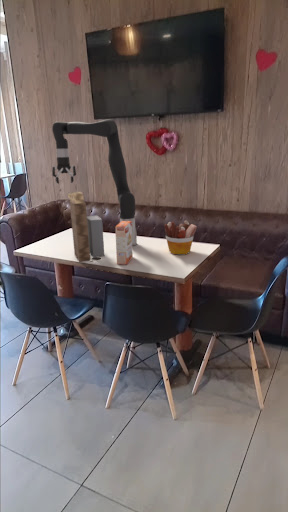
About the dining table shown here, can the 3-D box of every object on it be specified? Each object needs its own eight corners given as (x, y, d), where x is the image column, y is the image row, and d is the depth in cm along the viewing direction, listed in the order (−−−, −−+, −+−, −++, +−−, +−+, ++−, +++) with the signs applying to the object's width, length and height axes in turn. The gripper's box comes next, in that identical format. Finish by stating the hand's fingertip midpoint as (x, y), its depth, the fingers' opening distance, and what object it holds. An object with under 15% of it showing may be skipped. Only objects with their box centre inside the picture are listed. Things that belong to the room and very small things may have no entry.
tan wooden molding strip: (75, 197, 212) (74, 188, 211) (83, 203, 191) (83, 193, 190) (68, 197, 211) (67, 189, 210) (76, 203, 190) (75, 194, 188)
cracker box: (127, 265, 192) (125, 226, 185) (116, 264, 193) (114, 226, 187) (133, 256, 205) (132, 220, 198) (123, 256, 206) (121, 220, 200)
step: (99, 250, 218) (96, 215, 212) (104, 256, 208) (102, 219, 201) (88, 252, 216) (85, 216, 210) (93, 257, 206) (90, 220, 199)
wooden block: (84, 253, 214) (80, 199, 204) (90, 260, 201) (85, 202, 191) (74, 255, 212) (69, 200, 202) (79, 261, 199) (74, 203, 189)
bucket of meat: (175, 246, 222) (174, 214, 216) (199, 250, 214) (200, 216, 207) (158, 255, 206) (157, 220, 200) (184, 259, 198) (184, 223, 192)
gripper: (73, 155, 229) (75, 182, 234) (50, 156, 224) (52, 183, 229) (75, 156, 222) (77, 183, 227) (51, 156, 217) (54, 184, 222)
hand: (65, 183), depth 228 cm, fingers open, 8 cm apart
